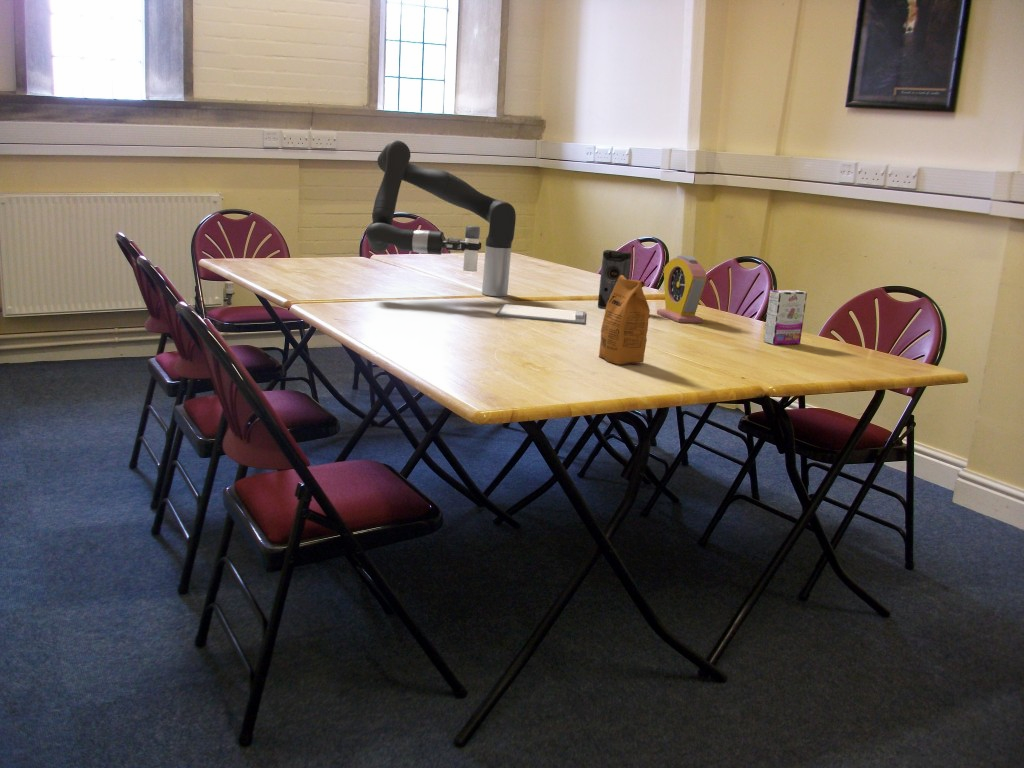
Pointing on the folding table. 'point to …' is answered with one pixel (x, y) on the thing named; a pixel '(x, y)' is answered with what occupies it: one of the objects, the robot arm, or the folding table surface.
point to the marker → (471, 255)
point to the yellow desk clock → (683, 289)
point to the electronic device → (612, 273)
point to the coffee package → (625, 323)
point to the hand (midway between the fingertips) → (480, 246)
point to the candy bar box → (785, 317)
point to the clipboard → (541, 314)
